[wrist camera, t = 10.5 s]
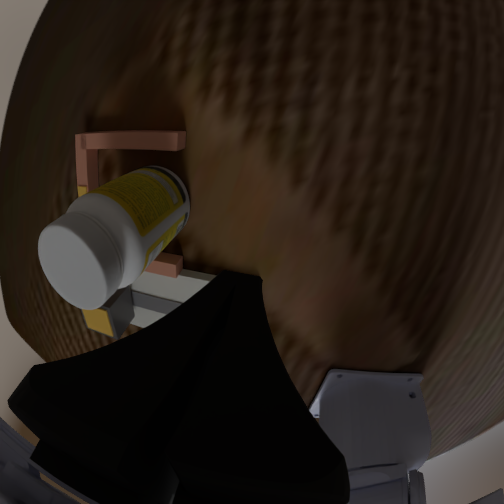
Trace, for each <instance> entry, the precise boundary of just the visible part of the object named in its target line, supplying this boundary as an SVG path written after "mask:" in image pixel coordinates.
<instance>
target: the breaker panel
mask: <svg viewBox="0 0 504 504" xmlns="http://www.w3.org/2000/svg"><path fill="white" fill-rule="evenodd" d="M216 276H217V275H211V274H206V273H201V272H196V271H191V270H186V269H183V270H182V271H181V272H180V274H179V275H178V277H177V278H173V277H168V276H163V275H159V274H154V273H150V272H146V271H144V272H143V273H142V274H141V275H140V276H139V277H138V278H137V279H136V280H135V281H134V282H133V283H132V284H130V291H131V297H132V303H133V308H134V313H135V317H134V318H133V320H132V321H131V322H130V324H134V325H137V326H140V327H143V328H145V327H147V326H149V325H150V324H152V323H154V322H155V321H157V320H159V319H160V318H162V317H164V316H165V315H167V314H168V313H169V312H171V311H172V310H174V309H175V308H177V307H178V306H180V305H181V304H182V303H184V302H185V301H186V300H188V299H189V298H190V297H192V296H193V295H194V294H195V293H197V292H198V291H199V290H200V289H202V288H203V287H204V286H205V285H206V284H208V283H209V282H210V281H211V280H212V279H213V278H214V277H216Z"/></svg>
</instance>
